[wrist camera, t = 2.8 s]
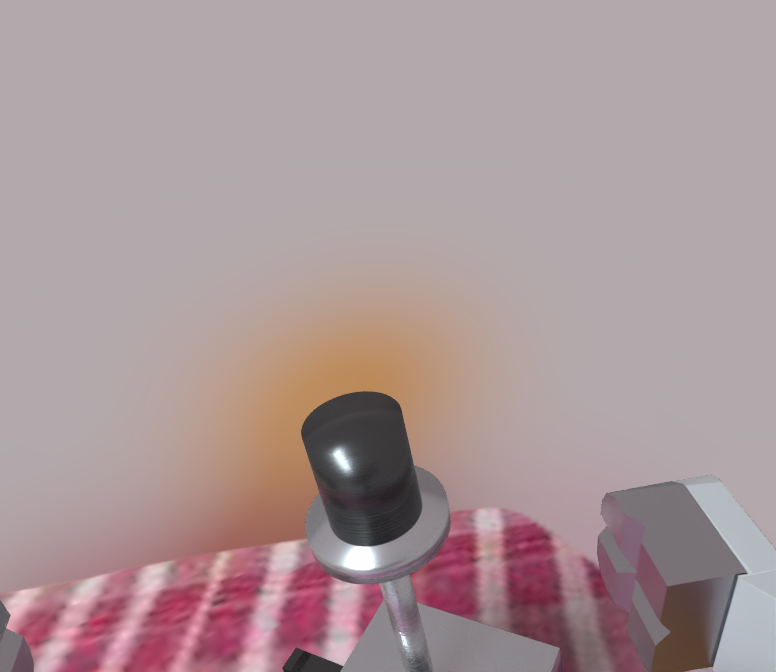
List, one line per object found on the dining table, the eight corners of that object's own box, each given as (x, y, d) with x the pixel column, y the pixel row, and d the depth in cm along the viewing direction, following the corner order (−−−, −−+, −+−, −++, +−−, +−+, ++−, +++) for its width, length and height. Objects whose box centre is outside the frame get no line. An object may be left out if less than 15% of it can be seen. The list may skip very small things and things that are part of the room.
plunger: (504, 670, 31) (454, 387, 23) (458, 783, 27) (380, 489, 20) (403, 634, 33) (329, 369, 26) (347, 733, 30) (243, 457, 22)
